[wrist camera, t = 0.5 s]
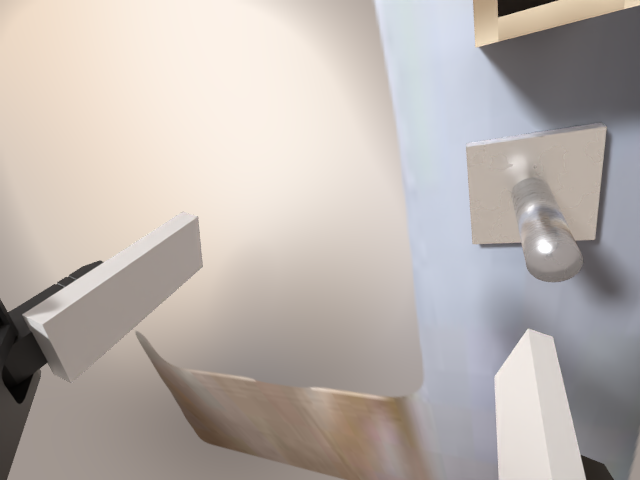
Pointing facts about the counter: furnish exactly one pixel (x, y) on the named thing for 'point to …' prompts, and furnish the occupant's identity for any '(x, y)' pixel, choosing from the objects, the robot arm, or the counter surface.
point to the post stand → (538, 195)
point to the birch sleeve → (537, 17)
